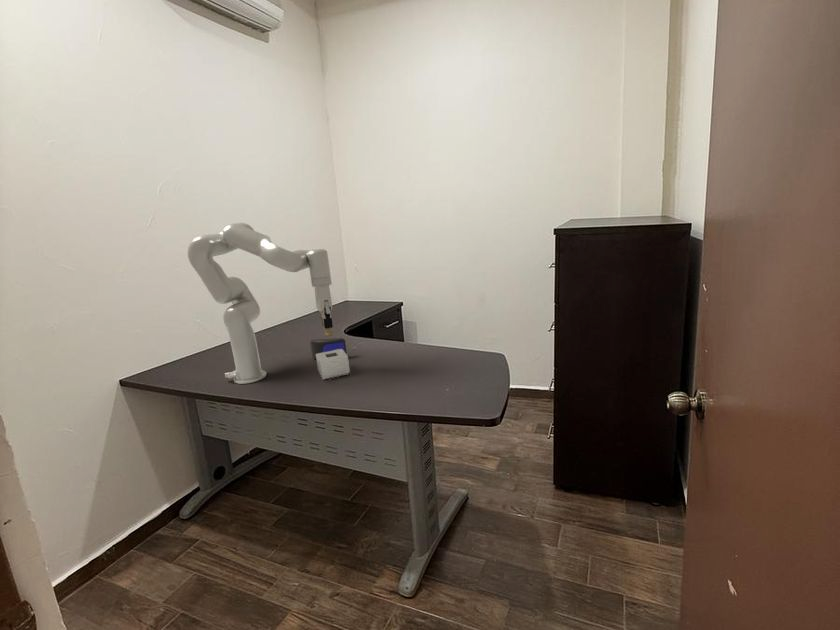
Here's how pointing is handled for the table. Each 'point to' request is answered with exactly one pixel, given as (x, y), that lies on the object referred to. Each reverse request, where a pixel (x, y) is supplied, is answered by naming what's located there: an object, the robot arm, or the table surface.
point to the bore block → (332, 363)
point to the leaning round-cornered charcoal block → (327, 345)
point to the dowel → (329, 330)
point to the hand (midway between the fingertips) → (327, 326)
